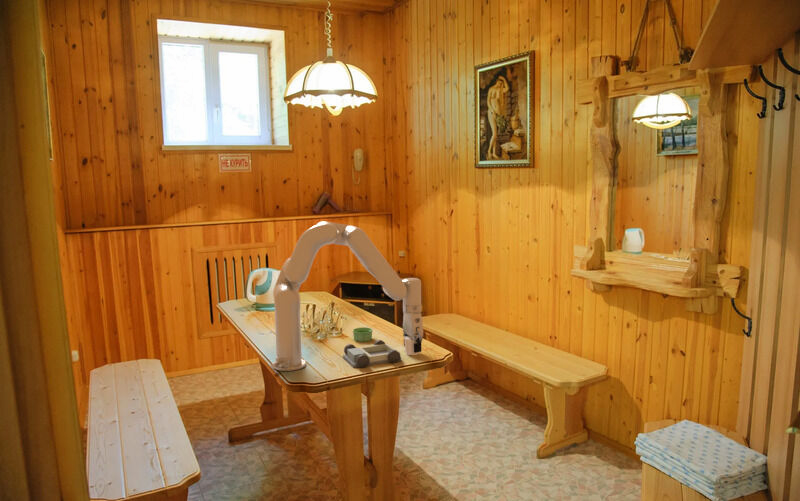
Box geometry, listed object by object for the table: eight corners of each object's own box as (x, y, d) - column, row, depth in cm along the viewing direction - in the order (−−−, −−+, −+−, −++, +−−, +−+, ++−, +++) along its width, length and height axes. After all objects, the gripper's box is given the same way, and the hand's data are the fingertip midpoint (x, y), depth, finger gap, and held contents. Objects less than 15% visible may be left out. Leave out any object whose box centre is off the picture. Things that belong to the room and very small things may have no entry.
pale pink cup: (419, 356, 225) (419, 340, 224) (402, 355, 226) (402, 339, 226) (421, 351, 232) (421, 335, 231) (405, 350, 233) (405, 334, 232)
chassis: (355, 369, 211) (354, 357, 210) (341, 356, 226) (341, 345, 225) (403, 361, 219) (402, 349, 218) (386, 349, 234) (386, 338, 233)
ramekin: (359, 343, 244) (359, 333, 243) (349, 338, 251) (348, 329, 251) (376, 339, 249) (376, 330, 249) (365, 335, 256) (365, 326, 256)
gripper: (429, 311, 220) (430, 353, 223) (411, 303, 236) (411, 342, 238) (412, 314, 217) (413, 356, 219) (395, 304, 233) (395, 344, 235)
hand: (412, 348), depth 229 cm, fingers open, 9 cm apart
